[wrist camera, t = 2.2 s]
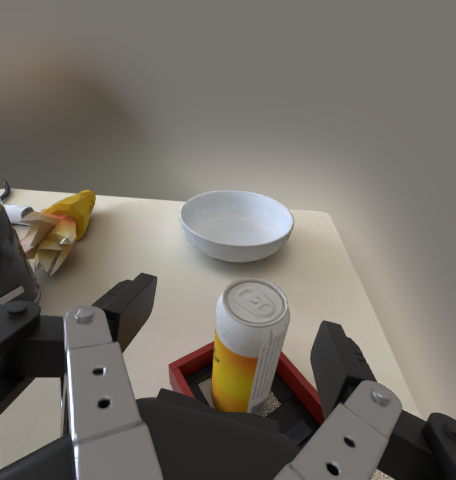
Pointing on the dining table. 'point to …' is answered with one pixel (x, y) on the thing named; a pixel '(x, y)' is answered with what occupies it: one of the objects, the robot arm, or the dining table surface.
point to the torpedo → (17, 213)
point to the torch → (57, 230)
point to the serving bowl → (236, 225)
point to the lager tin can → (247, 344)
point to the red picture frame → (283, 386)
